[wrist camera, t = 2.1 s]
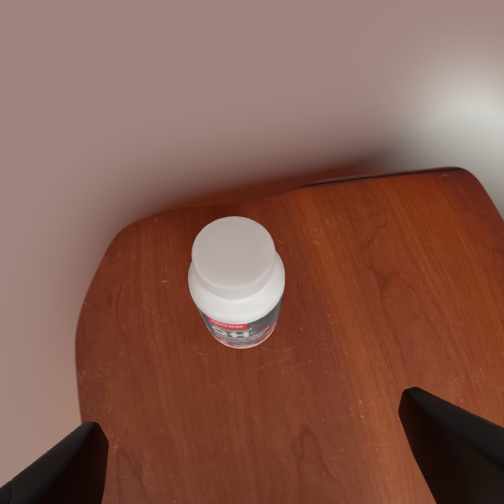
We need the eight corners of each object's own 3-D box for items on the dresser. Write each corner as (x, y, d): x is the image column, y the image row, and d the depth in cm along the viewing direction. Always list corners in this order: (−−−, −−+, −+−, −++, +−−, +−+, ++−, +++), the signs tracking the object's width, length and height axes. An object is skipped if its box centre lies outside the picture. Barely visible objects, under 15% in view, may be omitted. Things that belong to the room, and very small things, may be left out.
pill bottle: (219, 360, 22) (193, 320, 13) (196, 295, 24) (165, 222, 16) (289, 334, 23) (309, 278, 14) (262, 272, 25) (264, 191, 17)
